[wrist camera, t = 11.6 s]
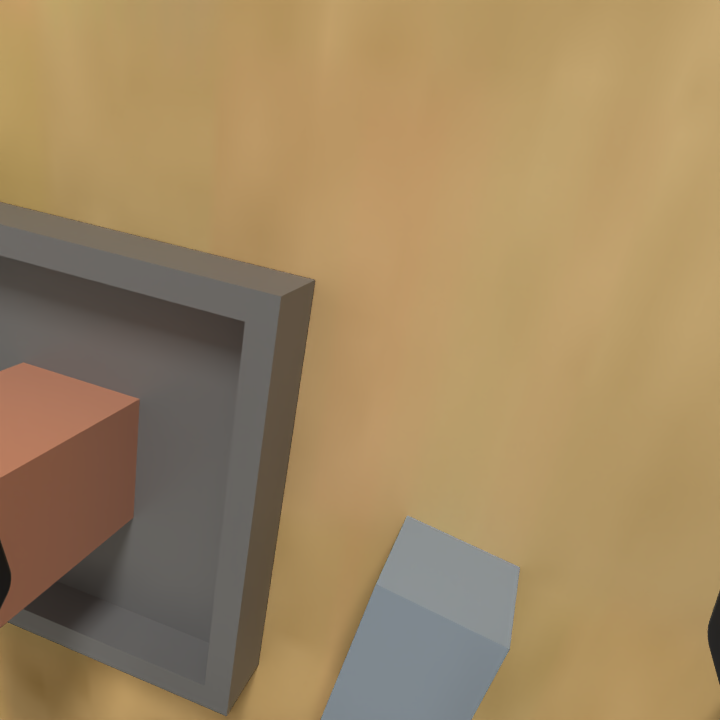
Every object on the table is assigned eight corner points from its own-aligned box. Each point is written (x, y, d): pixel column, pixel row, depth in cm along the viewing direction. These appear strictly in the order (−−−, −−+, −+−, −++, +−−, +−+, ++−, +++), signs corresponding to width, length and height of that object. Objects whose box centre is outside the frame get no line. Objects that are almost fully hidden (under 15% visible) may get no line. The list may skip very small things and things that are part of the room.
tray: (315, 279, 20) (281, 296, 18) (258, 664, 26) (226, 716, 23) (-84, 181, 24) (-156, 184, 21) (-58, 537, 29) (-113, 570, 27)
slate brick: (408, 512, 22) (375, 583, 18) (520, 564, 21) (509, 649, 17) (341, 674, 25) (302, 764, 21) (437, 724, 24) (413, 825, 20)
